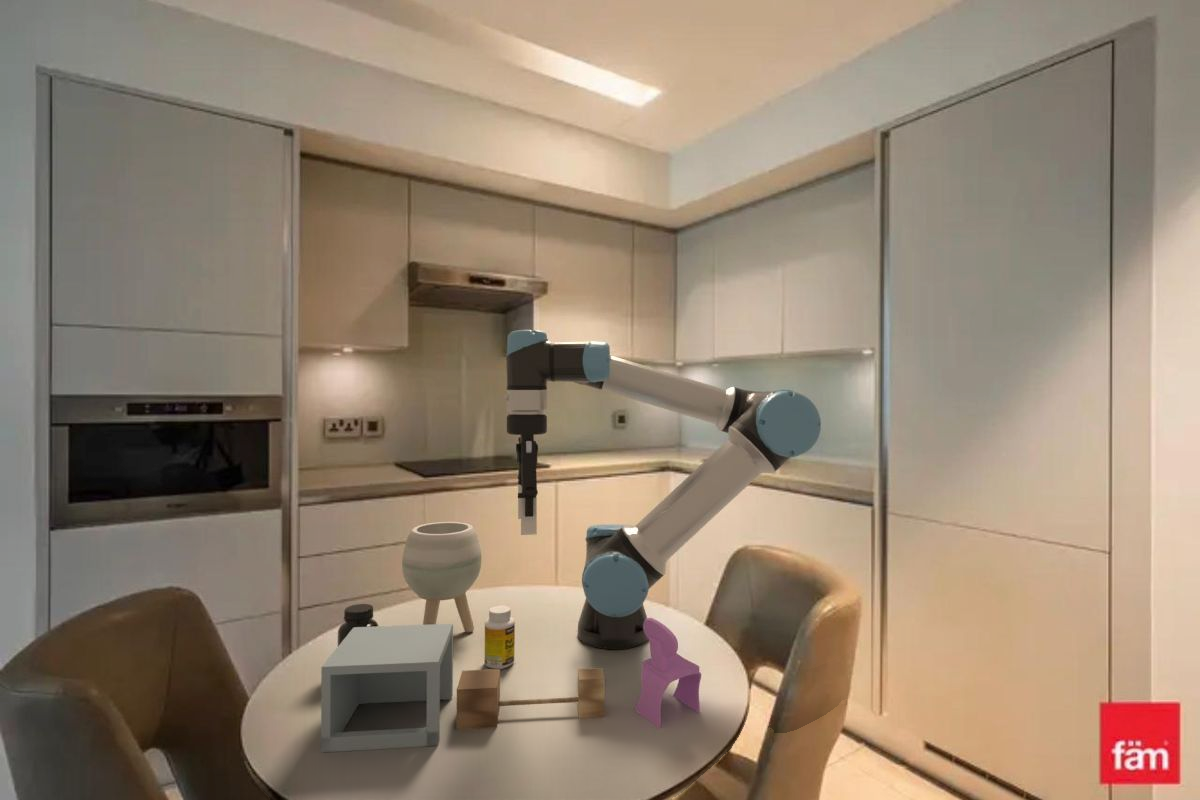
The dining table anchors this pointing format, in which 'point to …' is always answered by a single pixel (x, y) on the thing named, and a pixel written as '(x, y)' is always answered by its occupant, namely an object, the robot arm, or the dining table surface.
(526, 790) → the dining table surface
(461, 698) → the tethered block
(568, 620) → the dining table surface
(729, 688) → the dining table surface
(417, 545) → the planter
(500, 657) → the supplement bottle
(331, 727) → the shelf cubby
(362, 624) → the supplement bottle
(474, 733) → the dining table surface
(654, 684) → the toy chair
